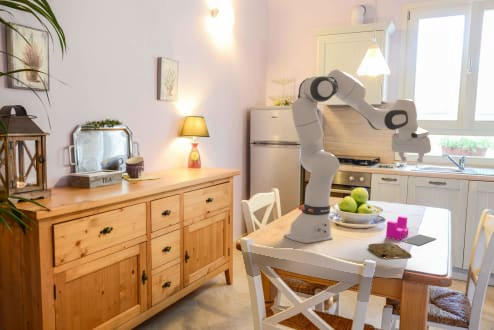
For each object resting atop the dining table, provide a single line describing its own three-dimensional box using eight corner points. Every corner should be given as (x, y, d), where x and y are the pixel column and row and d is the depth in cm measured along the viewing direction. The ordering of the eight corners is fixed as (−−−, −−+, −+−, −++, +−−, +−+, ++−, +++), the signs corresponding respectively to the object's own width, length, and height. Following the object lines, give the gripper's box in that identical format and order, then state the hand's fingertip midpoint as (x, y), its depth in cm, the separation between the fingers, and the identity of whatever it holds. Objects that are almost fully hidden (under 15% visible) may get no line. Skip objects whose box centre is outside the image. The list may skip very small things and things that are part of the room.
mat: (418, 246, 172) (419, 245, 172) (401, 241, 178) (401, 240, 178) (436, 239, 182) (436, 238, 182) (419, 234, 188) (419, 234, 188)
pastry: (361, 254, 161) (362, 247, 160) (374, 243, 175) (374, 237, 175) (406, 264, 151) (407, 257, 151) (415, 252, 166) (416, 245, 165)
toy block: (399, 240, 179) (400, 224, 178) (386, 237, 183) (387, 221, 182) (411, 233, 190) (412, 218, 189) (398, 230, 195) (399, 216, 194)
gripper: (386, 134, 196) (390, 161, 198) (421, 134, 178) (425, 164, 180) (396, 131, 199) (399, 158, 201) (431, 131, 180) (434, 161, 183)
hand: (411, 161), depth 190 cm, fingers open, 8 cm apart
